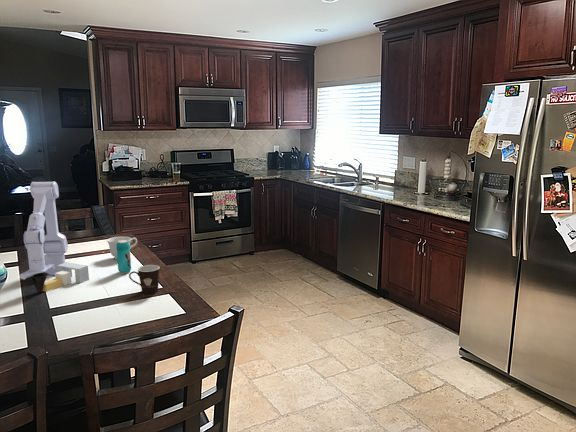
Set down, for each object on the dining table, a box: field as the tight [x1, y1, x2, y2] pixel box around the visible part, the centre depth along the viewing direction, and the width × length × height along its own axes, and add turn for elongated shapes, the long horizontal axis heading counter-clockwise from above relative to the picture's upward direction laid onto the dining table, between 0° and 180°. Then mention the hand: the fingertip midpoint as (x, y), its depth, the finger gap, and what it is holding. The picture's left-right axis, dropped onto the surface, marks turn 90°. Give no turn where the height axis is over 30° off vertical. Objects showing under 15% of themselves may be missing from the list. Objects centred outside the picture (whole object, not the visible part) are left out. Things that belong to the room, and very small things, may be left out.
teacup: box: [106, 235, 138, 261], centre depth 240 cm, size 12×15×10 cm
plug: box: [42, 271, 72, 293], centre depth 199 cm, size 4×12×5 cm, turn 157°
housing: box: [58, 261, 90, 284], centre depth 208 cm, size 12×5×6 cm, turn 67°
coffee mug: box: [128, 264, 160, 295], centre depth 195 cm, size 12×9×10 cm
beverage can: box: [116, 240, 132, 275], centre depth 217 cm, size 6×6×15 cm
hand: (39, 290), depth 193 cm, fingers closed
